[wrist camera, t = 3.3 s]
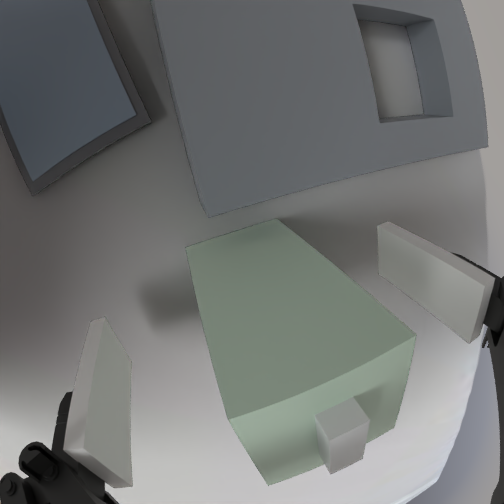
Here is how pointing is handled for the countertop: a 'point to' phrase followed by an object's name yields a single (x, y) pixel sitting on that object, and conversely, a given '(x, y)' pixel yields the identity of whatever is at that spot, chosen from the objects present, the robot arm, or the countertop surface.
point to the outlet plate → (309, 92)
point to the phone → (61, 86)
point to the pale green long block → (297, 350)
